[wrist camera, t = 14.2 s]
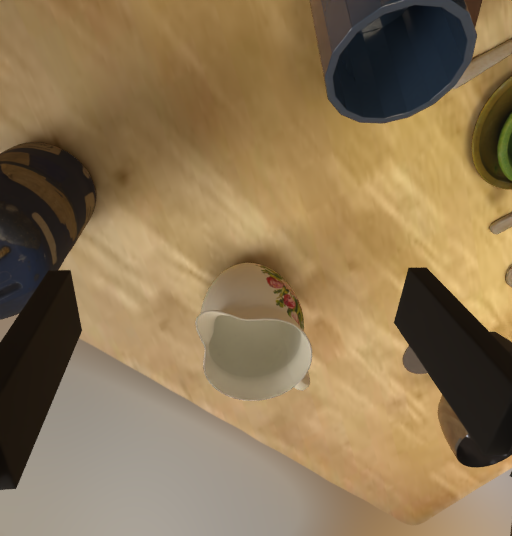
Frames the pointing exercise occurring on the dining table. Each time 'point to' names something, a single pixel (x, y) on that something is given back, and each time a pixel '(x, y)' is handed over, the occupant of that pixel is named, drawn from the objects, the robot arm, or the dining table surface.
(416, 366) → the wine glass
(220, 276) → the pitcher
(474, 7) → the cup holder
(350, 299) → the dining table surface
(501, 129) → the tableware set
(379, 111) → the mug
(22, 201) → the canister
